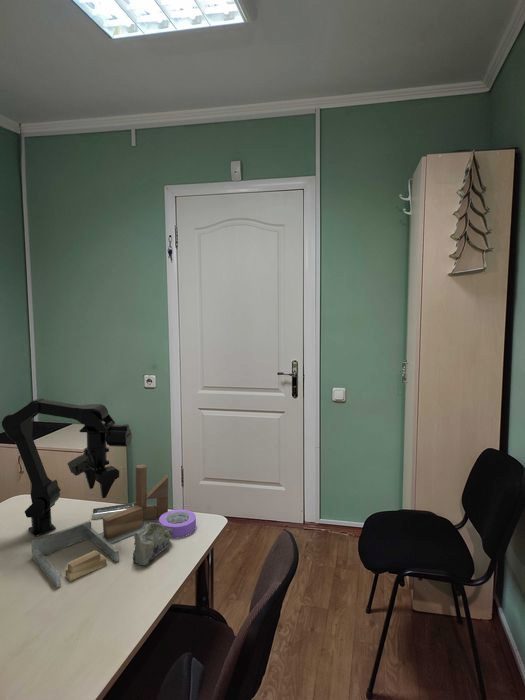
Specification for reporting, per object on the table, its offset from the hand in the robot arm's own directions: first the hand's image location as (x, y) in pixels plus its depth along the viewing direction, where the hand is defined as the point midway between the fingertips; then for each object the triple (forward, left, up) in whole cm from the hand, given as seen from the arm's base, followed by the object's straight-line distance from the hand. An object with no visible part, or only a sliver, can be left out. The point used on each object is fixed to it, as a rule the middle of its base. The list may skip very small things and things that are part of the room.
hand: (97, 493), depth 142 cm
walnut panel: (+7, +5, -12) cm, 15 cm away
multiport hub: (-7, +9, -13) cm, 17 cm away
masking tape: (+17, +19, -13) cm, 28 cm away
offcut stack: (+18, -12, -12) cm, 25 cm away
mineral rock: (+24, +6, -13) cm, 28 cm away
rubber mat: (+7, +5, -12) cm, 15 cm away
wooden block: (+5, +16, -12) cm, 21 cm away
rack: (+11, -12, -12) cm, 20 cm away
